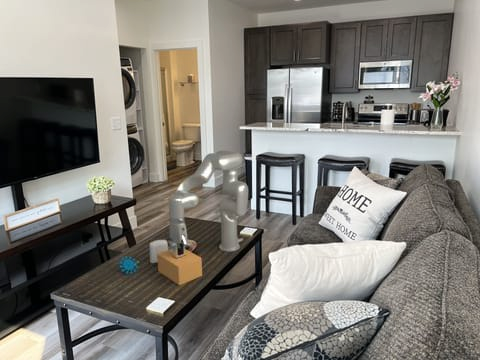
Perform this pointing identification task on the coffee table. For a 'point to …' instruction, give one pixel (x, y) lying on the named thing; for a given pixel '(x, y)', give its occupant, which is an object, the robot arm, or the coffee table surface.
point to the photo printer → (157, 249)
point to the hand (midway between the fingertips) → (178, 252)
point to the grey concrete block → (176, 249)
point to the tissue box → (179, 266)
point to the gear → (128, 265)
